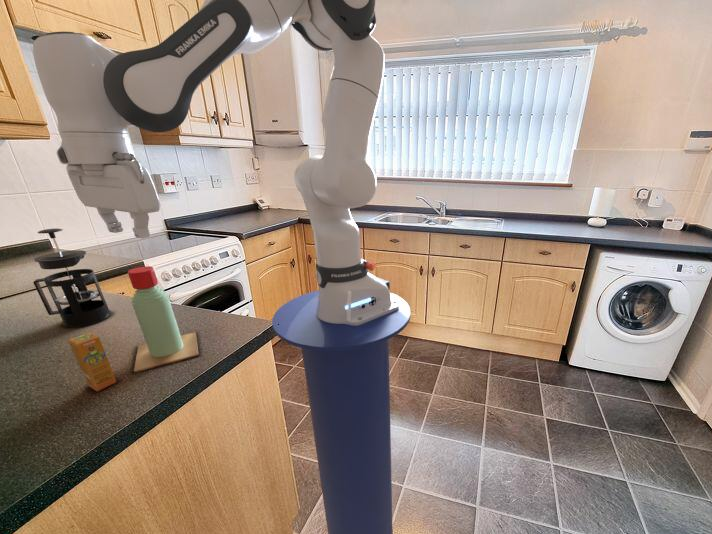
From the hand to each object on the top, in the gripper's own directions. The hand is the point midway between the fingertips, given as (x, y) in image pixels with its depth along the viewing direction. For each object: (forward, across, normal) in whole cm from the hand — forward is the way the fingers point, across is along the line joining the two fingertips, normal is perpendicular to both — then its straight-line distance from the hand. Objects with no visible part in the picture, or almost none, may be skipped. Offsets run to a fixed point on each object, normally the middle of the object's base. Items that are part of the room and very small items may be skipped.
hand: (129, 234), depth 62 cm
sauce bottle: (+25, 0, 0) cm, 25 cm away
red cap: (+10, 0, 0) cm, 10 cm away
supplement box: (+25, -1, +12) cm, 28 cm away
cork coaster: (+25, 0, 0) cm, 25 cm away
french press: (+25, +34, +1) cm, 42 cm away
